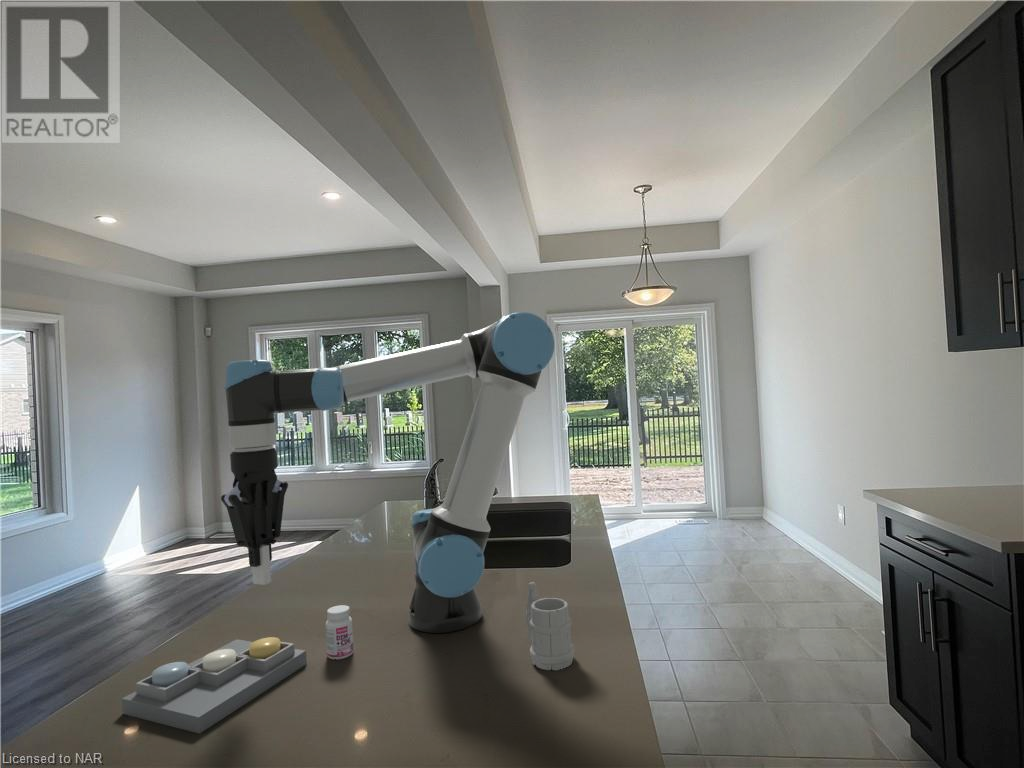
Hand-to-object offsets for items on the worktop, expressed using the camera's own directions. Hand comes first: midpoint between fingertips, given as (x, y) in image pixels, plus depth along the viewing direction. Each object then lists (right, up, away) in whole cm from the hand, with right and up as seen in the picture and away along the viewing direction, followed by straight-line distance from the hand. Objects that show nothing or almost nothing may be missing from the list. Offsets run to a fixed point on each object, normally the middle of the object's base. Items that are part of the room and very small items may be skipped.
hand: (262, 582), depth 103 cm
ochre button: (+1, -13, 0) cm, 13 cm away
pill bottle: (+12, -16, +6) cm, 21 cm away
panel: (-5, -16, -4) cm, 18 cm away
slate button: (-11, -14, -8) cm, 20 cm away
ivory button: (-5, -13, -4) cm, 15 cm away
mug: (+50, -14, +1) cm, 52 cm away
